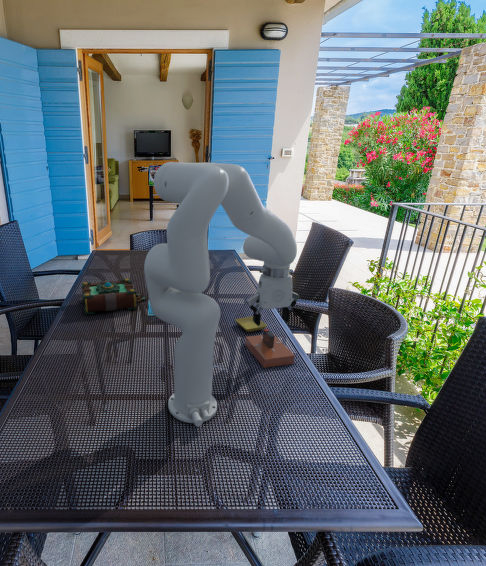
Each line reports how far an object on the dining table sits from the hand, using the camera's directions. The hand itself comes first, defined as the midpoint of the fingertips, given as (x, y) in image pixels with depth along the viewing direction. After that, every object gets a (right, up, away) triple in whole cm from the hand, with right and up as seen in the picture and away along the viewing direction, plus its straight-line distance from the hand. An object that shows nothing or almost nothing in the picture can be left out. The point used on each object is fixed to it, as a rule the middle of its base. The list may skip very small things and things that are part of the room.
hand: (270, 321), depth 118 cm
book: (-55, +4, +40) cm, 68 cm away
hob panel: (0, -11, +3) cm, 11 cm away
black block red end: (0, -7, +3) cm, 8 cm away
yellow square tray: (-2, -4, +20) cm, 20 cm away
